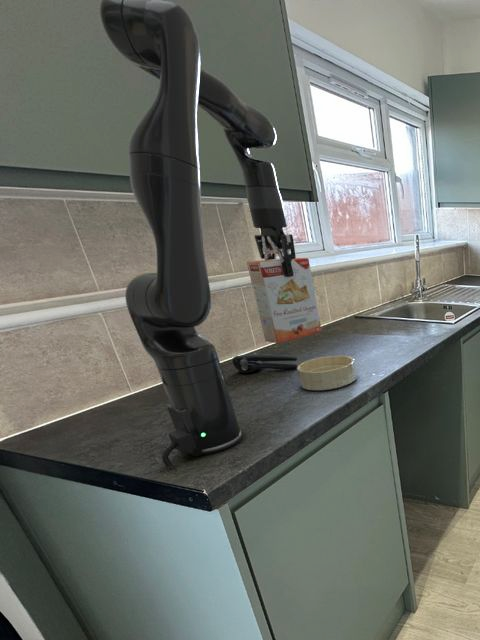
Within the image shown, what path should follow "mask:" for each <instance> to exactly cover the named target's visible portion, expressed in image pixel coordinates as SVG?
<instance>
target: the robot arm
mask: <svg viewBox="0 0 480 640" xmlns="http://www.w3.org/2000/svg"><path fill="white" fill-rule="evenodd" d="M99 17H100V20H101V25H102V27H103V30H104V32H105V34H106V36H107V38H108V40H109V42H110V43H111V44H112V45H113V47H114V48H115V49H116V50H117V52H118V53H119V54H120V55H121V56H123V58H124V59H126V60H127V61H128V62H130V63H131V64H133V65H135V66H136V67H138V68H139V69H141V70H142V71H145V72H146V73H147V74H149V75H151V76H152V77H154V78H156V79H157V80H159V83H158V88H157V91H156V94H155V97H154V99H153V101H152V102H151V104H150V106H149V107H148V108H147V110H146V112H145V113H144V114H143V115H142V117H141V119H140V120H139V121H138V123H137V124H136V126H135V128H134V129H133V131H132V133H131V135H130V138H129V141H128V144H127V145H128V147H127V154H128V155H127V156H128V168H129V169H128V170H129V171H128V172H129V181H130V188H131V191H132V193H133V196H134V199H135V201H136V203H137V205H138V207H139V209H140V210H141V212H142V214H143V216H144V218H145V220H146V222H147V223H148V225H149V228H150V229H151V232H152V235H153V239H154V244H155V252H156V272H148V273H143V274H139V275H137V276H135V277H133V278H132V279H131V280H130V281H129V282H128V284H127V285H126V288H125V296H124V297H125V304H126V307H127V311H128V314H129V317H130V319H131V321H132V323H133V326H134V329H135V331H136V333H137V335H138V338H139V340H140V342H141V344H142V347H143V349H144V350H145V352H146V353H147V354H148V355H149V356H150V357H151V358H152V359H153V361H154V363H155V366H156V369H157V371H158V374H159V376H160V379H161V382H162V385H163V388H164V390H165V393H166V397H167V399H168V402H169V404H167V405H166V407H167V410H168V413H169V416H170V418H171V421H172V425H173V427H174V429H175V430H174V431H172V432H168V436H169V440H170V442H171V444H170V445H169V446H168V447H167V448H166V449H165V450H164V451H163V453H162V456H161V460H162V462H163V464H164V465H165V467H166V468H170V467H172V466H173V467H174V465H173V464H172V462H171V461H170V458H169V456H170V454H171V452H172V451H174V450H177V451H178V452H180V453H181V454H185V453H187V454H190V455H191V456H193V457H195V458H198V457H201V456H203V455H208V454H213V453H214V454H215V453H217V452H221V451H224V450H226V449H229V448H231V447H233V446H234V445H237V444H238V443H239V442H241V440H242V438H243V433H242V430H241V428H240V425H239V422H238V418H237V414H236V412H235V408H234V405H233V401H232V398H231V395H230V392H229V389H228V384H227V381H226V378H225V376H224V373H223V368H222V365H221V361H220V359H219V356H218V355H219V354H218V351H217V349H216V346H215V345H214V343H213V342H212V341H210V340H208V339H207V338H205V337H204V336H203V335H202V334H201V333H200V332H199V331H198V330H197V329H196V327H198V326H199V325H200V326H201V325H202V324H203V323H204V322H205V321H206V320H207V318H208V316H209V315H210V311H211V307H212V294H211V288H210V280H209V276H208V275H209V274H208V269H207V263H206V256H205V249H204V233H203V219H202V185H201V184H202V181H201V165H200V153H199V127H198V125H199V124H198V121H199V119H198V114H199V108H200V109H201V110H202V111H204V113H205V114H207V115H208V116H209V117H210V118H211V119H213V121H215V122H216V124H218V125H219V126H221V127H222V131H223V134H224V136H225V139H226V140H227V142H228V145H229V146H230V148H231V150H232V152H233V154H234V156H235V158H236V160H237V162H238V165H239V167H240V170H241V173H242V177H243V183H244V187H245V189H246V190H245V191H246V200H247V203H248V208H249V212H250V216H251V220H252V224H253V228H255V229H260V234H255V235H254V241H255V243H256V247H257V250H258V253H259V256H260V258H261V260H270V259H277V256H278V259H280V260H281V264H282V268H283V273H284V276H285V277H293V276H294V274H293V269H292V265H291V261H292V259H295V258H297V256H296V248H295V242H294V236H293V234H290V233H289V234H286V233H285V231H284V228H287V227H288V222H287V217H286V213H285V208H284V203H283V198H282V195H281V193H280V190H279V185H278V181H277V176H276V170H275V167H274V165H273V163H272V162H271V161H268V160H264V159H259V158H255V157H253V155H252V154H251V152H250V150H268V149H271V148H272V147H274V145H275V144H276V141H277V133H276V130H275V127H274V125H273V123H272V122H271V121H270V120H269V118H268V117H267V116H266V115H265V114H263V112H262V111H260V110H258V109H256V108H255V107H253V106H251V105H250V104H248V103H246V102H244V101H242V100H241V99H240V98H239V96H238V95H237V94H236V93H235V92H234V91H233V90H232V89H231V88H230V87H229V86H228V84H226V83H224V82H223V80H220V79H219V78H218V77H217V76H215V75H213V74H211V73H210V72H208V71H206V70H205V69H203V68H201V47H200V40H199V35H198V32H197V29H196V27H195V24H194V21H193V19H192V18H191V16H190V14H189V13H188V12H187V10H186V9H185V8H184V7H182V6H181V5H180V4H178V2H177V3H176V1H175V2H174V1H172V0H101V1H100V3H99Z"/></svg>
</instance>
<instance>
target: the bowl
mask: <svg viewBox="0 0 480 640" xmlns="http://www.w3.org/2000/svg"><path fill="white" fill-rule="evenodd" d="M297 366H298V367H297V368H296V371H297V376H298V379H299V384H300V387H301V388H302V389H304V390H307V391H329V390H330V391H331V390H335V389H339V388H343V387H345V386H347V385H349V384H351V383H353V382H354V381H356V380H357V378H358V375H357V369H356V364H355V358H353V357H352V356H348V355H326V356H321V357H315V358H312V359H308V360H306V361H304V362H301V363H300V364H297Z"/></svg>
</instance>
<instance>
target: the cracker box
mask: <svg viewBox="0 0 480 640" xmlns="http://www.w3.org/2000/svg"><path fill="white" fill-rule="evenodd" d="M246 265H247V270H248V274H249V277H250V283H251V286H252V290H253V295H254V299H255V303H256V308H257V312H258V316H259V320H260V324H261V328H262V329H261V330H262V333H263V337H264V341H265V342H268V343H274V344H281V343H285V342H288V341H289V342H290V341H293V340H297V339H300V338H304V337H308V336H312V335H315V334H320V333H322V332H323V330H322V325H321V319H320V314H319V309H318V304H317V303H318V302H317V298H316V292H315V286H314V281H313V275H312V271H311V265H310V259H309V258H308V257H296V258H295V259H292V261H291V265H292V269H293V274H294V276H293V277H285V276H284V273H283V268H282V264H281V260H280V258H276V259H270V260H265V259H261V260H254V261H253V260H252V261H247V262H246Z"/></svg>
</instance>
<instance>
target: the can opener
mask: <svg viewBox="0 0 480 640" xmlns="http://www.w3.org/2000/svg"><path fill="white" fill-rule="evenodd" d="M297 360H298V358H297V356H292V355H284V354H283V355H281V354H258V353H257V352H254V353H253V354H243V355H242V354H241V355H235V356H233V358H232V365H233V366H234V368H235V369H236V370H238V371H239V372H240V373H242V374H251V373H253V372H256V371H258V370H262V369H271V370H295V369H297V367H298V364H296V363H281V362H296V361H297ZM279 362H280V363H279Z"/></svg>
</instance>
